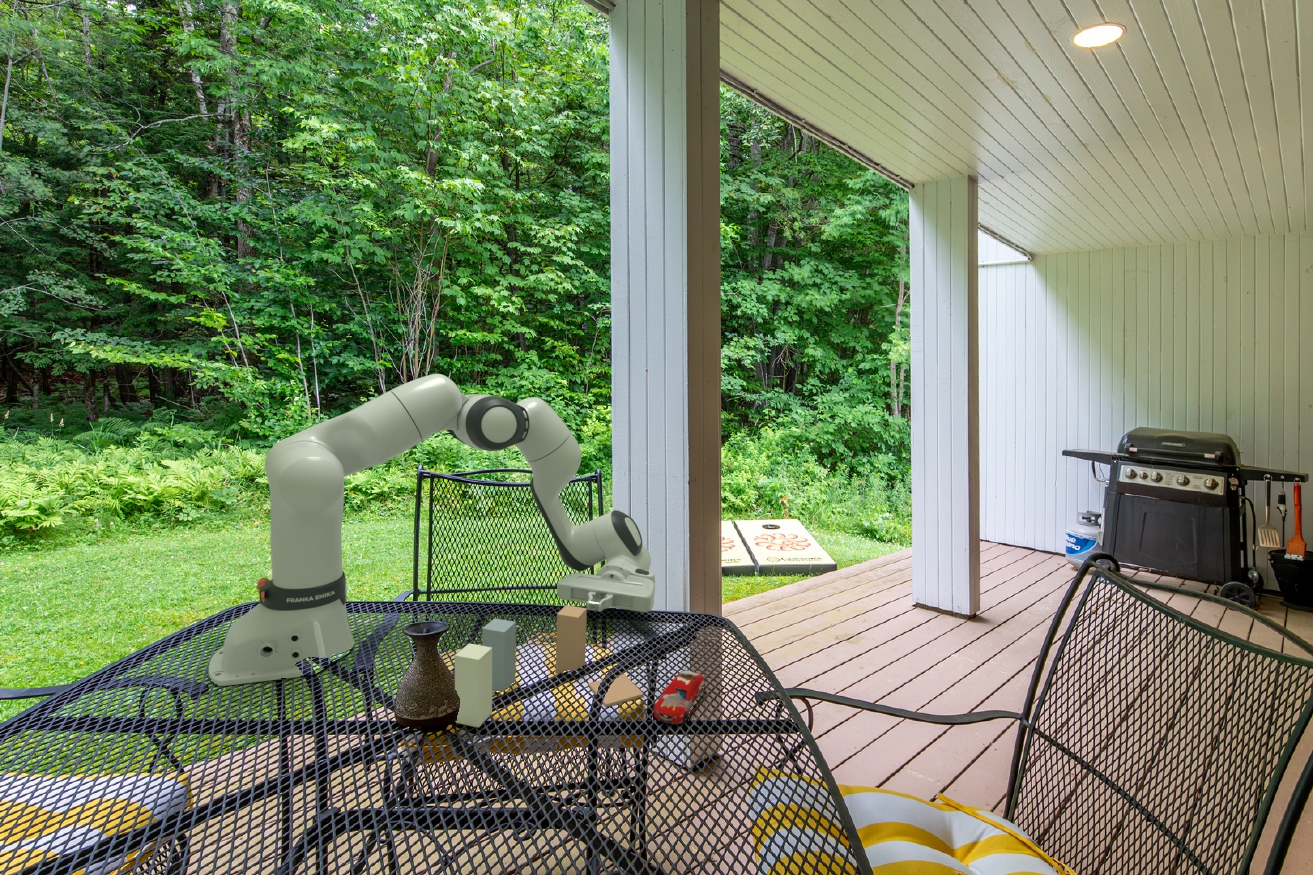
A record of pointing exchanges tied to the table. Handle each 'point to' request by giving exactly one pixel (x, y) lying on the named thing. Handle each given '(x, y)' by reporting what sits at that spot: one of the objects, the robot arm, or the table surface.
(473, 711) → the cream post
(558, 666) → the tan rectangular block
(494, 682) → the slate post
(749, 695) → the table surface
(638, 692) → the tile
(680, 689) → the race car
